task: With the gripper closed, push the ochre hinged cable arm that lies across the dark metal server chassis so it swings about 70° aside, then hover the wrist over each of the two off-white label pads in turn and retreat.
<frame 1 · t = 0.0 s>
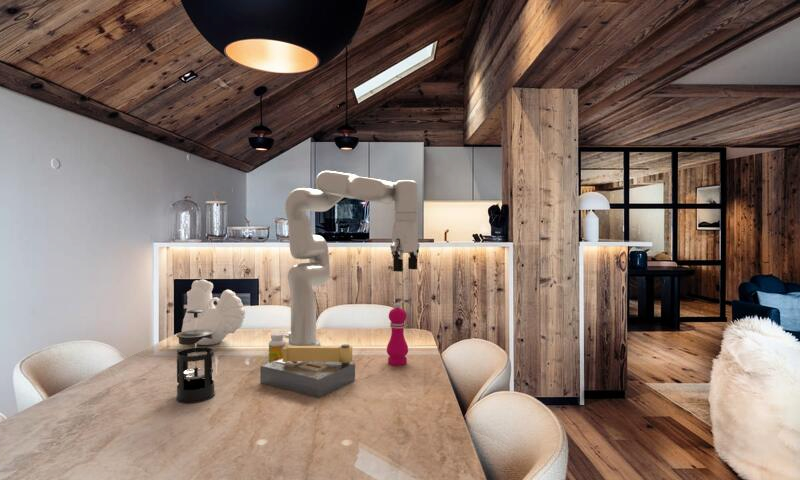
hand: (405, 270, 143), 31 cm above the table, tool pointing down, fingers open, 9 cm apart
pepper mill: (397, 363, 145), on the table
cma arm: (318, 354, 127), point 8 cm above the table, hinge at 0.0°
french press: (194, 396, 115), on the table
chassis: (308, 381, 127), on the table
decorative rooster: (212, 345, 167), on the table
supplement bottle: (277, 363, 144), on the table
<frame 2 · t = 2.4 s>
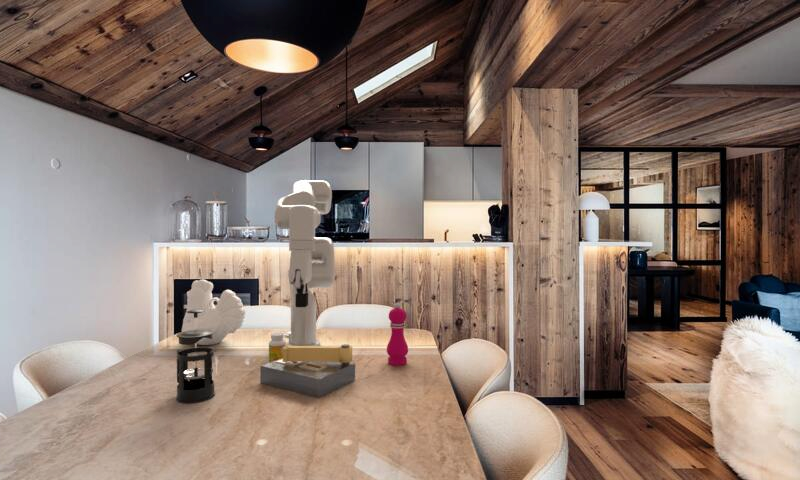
hand: (301, 306, 132), 21 cm above the table, tool pointing down, fingers closed
nothing on the table moved.
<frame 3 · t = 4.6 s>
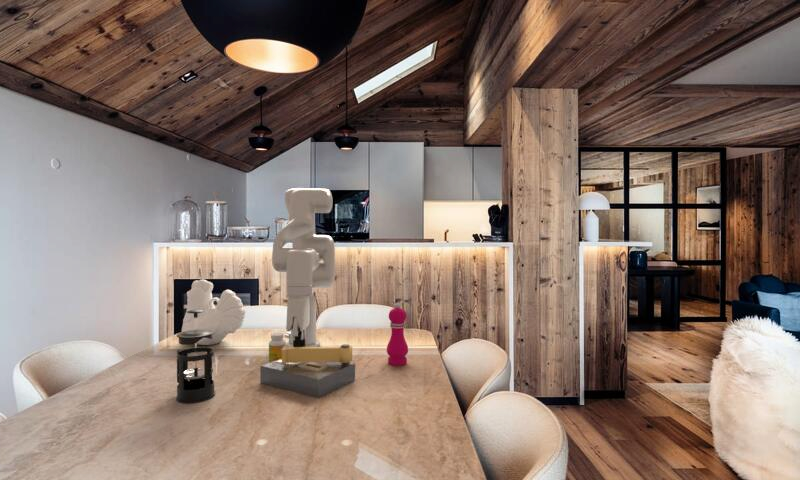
hand: (299, 352, 129), 8 cm above the table, tool pointing down, fingers closed
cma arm: (317, 354, 126), point 8 cm above the table, hinge at 4.7°, touching gripper
everything else where it was.
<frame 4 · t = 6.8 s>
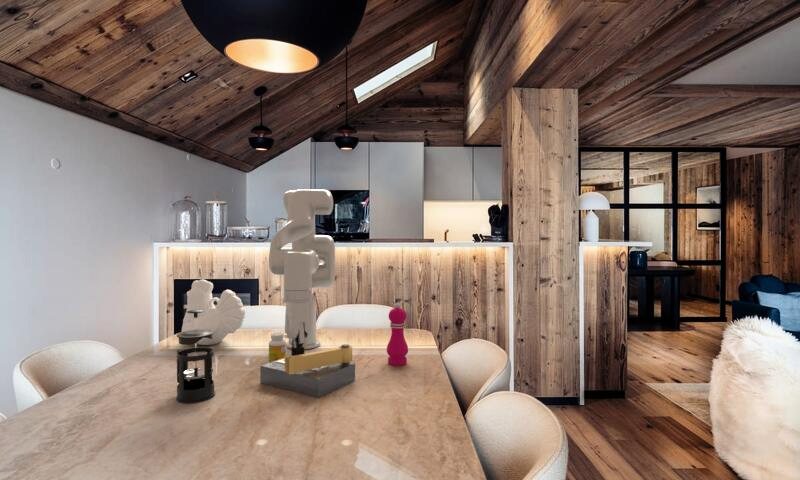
hand: (297, 360, 121), 8 cm above the table, tool pointing down, fingers closed
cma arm: (320, 359, 122), point 8 cm above the table, hinge at 38.6°, touching gripper
everything else where it was.
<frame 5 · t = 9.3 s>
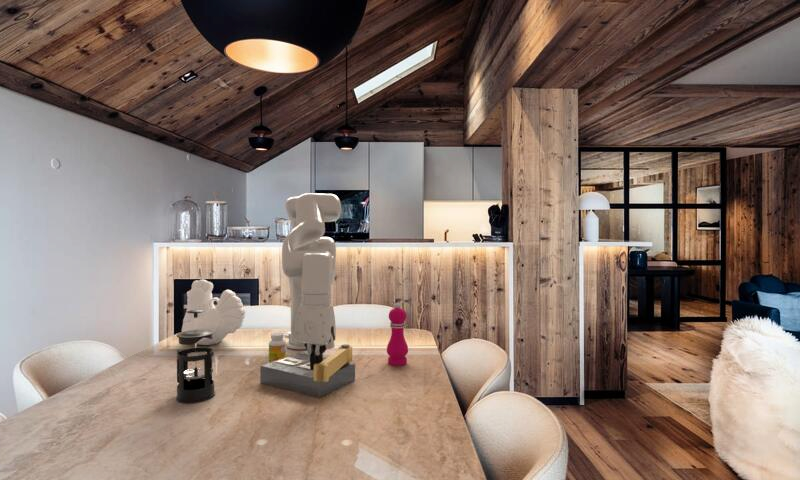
hand: (316, 368, 115), 8 cm above the table, tool pointing down, fingers closed
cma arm: (335, 362, 119), point 8 cm above the table, hinge at 77.2°, touching gripper
everything else where it was.
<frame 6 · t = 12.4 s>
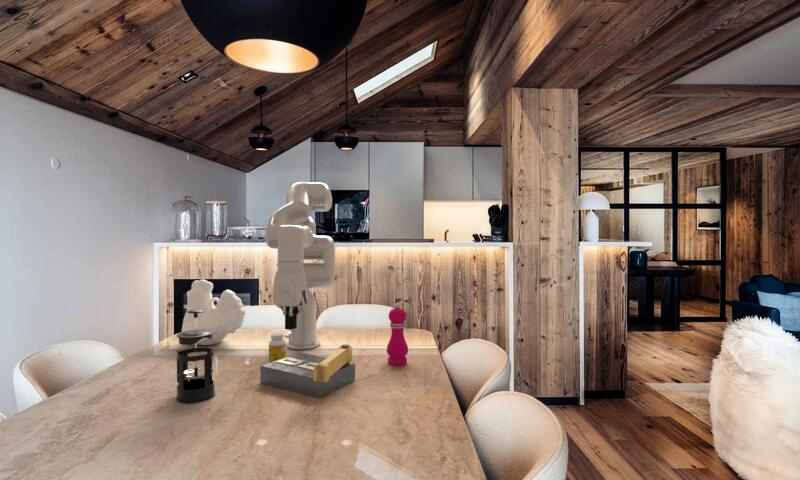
hand: (290, 328, 128), 15 cm above the table, tool pointing down, fingers closed
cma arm: (335, 362, 119), point 8 cm above the table, hinge at 77.3°
everything else where it was.
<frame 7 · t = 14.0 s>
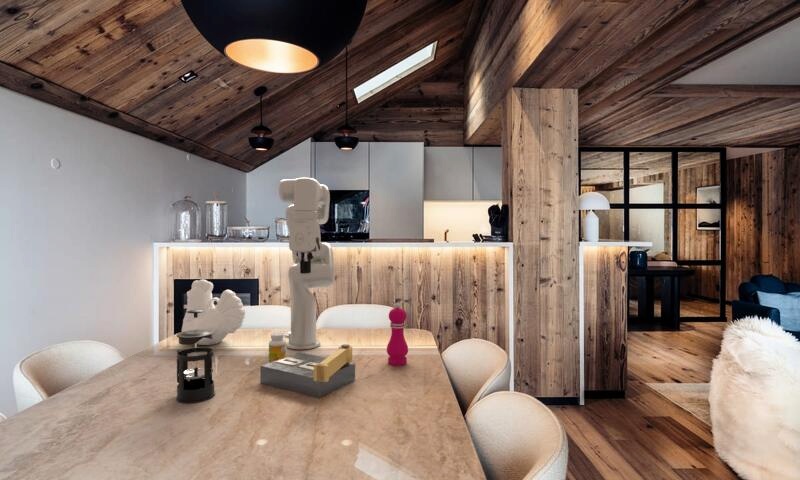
hand: (305, 273, 141), 30 cm above the table, tool pointing down, fingers closed
nothing on the table moved.
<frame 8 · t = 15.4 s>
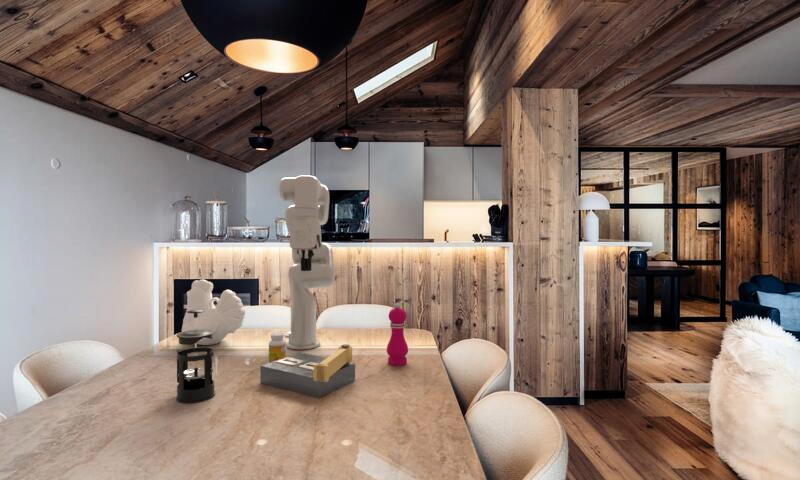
hand: (306, 270, 141), 31 cm above the table, tool pointing down, fingers closed
nothing on the table moved.
at the end: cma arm at +77° (first picture: +0°) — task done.
